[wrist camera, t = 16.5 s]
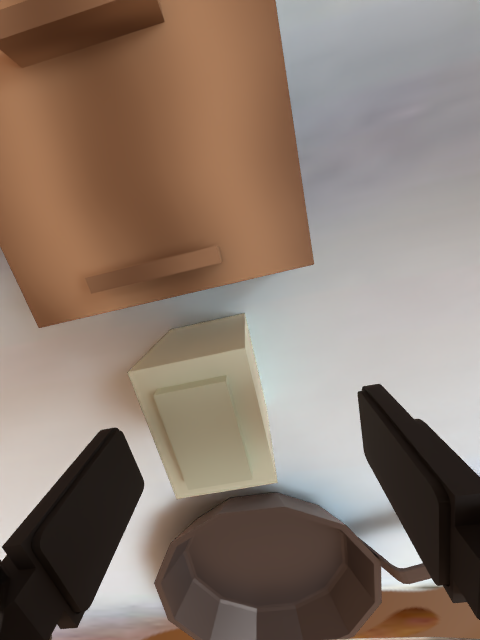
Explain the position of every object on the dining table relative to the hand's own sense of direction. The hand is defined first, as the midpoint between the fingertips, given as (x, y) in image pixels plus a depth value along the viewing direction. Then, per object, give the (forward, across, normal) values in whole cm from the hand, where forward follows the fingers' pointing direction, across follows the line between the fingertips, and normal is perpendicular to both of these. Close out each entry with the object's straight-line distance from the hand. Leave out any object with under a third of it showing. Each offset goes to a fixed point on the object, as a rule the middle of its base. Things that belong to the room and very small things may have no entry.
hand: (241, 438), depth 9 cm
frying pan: (+7, -4, +17) cm, 19 cm away
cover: (+7, +2, 0) cm, 7 cm away
